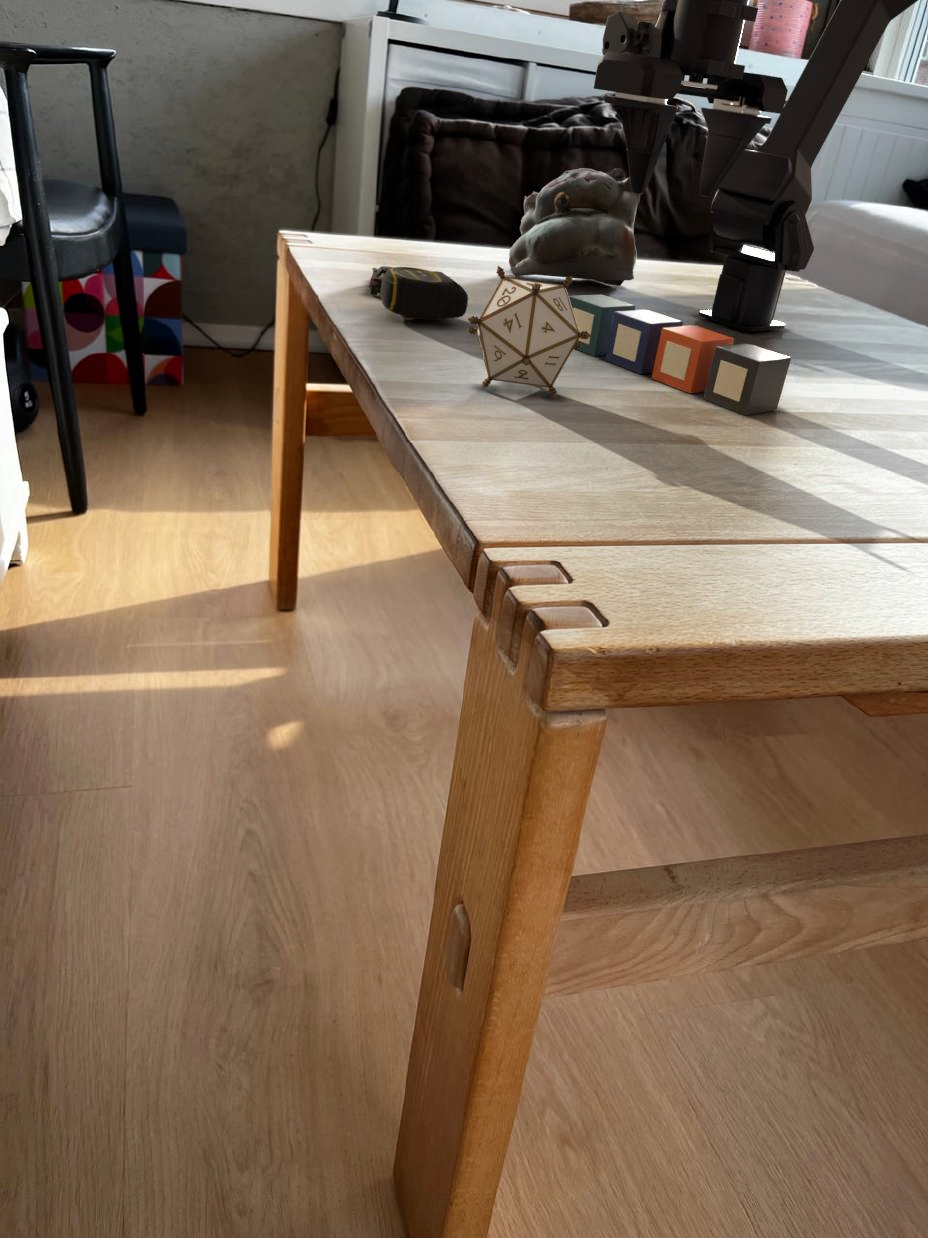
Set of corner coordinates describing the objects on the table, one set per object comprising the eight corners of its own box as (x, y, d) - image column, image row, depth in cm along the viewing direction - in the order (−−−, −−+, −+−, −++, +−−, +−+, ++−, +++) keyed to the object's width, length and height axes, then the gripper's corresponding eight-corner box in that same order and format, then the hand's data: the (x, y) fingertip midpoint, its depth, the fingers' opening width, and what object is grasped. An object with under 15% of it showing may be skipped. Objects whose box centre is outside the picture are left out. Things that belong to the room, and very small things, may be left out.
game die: (522, 446, 74) (542, 359, 65) (435, 377, 76) (443, 283, 67) (598, 374, 77) (628, 282, 68) (513, 310, 79) (531, 211, 70)
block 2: (636, 356, 87) (646, 309, 85) (672, 370, 84) (683, 321, 82) (603, 360, 84) (613, 311, 82) (639, 374, 82) (650, 323, 80)
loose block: (683, 374, 83) (694, 324, 82) (722, 388, 81) (734, 338, 79) (650, 378, 81) (661, 327, 79) (689, 393, 78) (701, 341, 76)
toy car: (372, 280, 101) (374, 257, 100) (407, 284, 101) (409, 262, 100) (367, 297, 94) (369, 273, 93) (405, 301, 94) (407, 278, 93)
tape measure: (467, 329, 88) (472, 284, 86) (389, 325, 85) (394, 279, 84) (444, 310, 93) (449, 267, 91) (370, 305, 91) (374, 262, 89)
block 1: (593, 340, 90) (601, 293, 88) (626, 352, 87) (636, 305, 86) (560, 343, 88) (568, 295, 86) (593, 356, 85) (602, 307, 83)
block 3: (734, 393, 80) (748, 342, 78) (777, 409, 77) (791, 357, 76) (702, 398, 78) (714, 346, 76) (744, 415, 75) (759, 361, 73)
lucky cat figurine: (482, 272, 111) (496, 145, 111) (536, 308, 121) (549, 191, 121) (608, 258, 102) (623, 120, 102) (655, 297, 112) (669, 172, 112)
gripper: (708, -2, 93) (671, 182, 100) (563, -35, 82) (533, 175, 89) (812, 5, 86) (763, 203, 93) (669, -30, 75) (626, 198, 82)
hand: (672, 194), depth 90 cm, fingers open, 9 cm apart
